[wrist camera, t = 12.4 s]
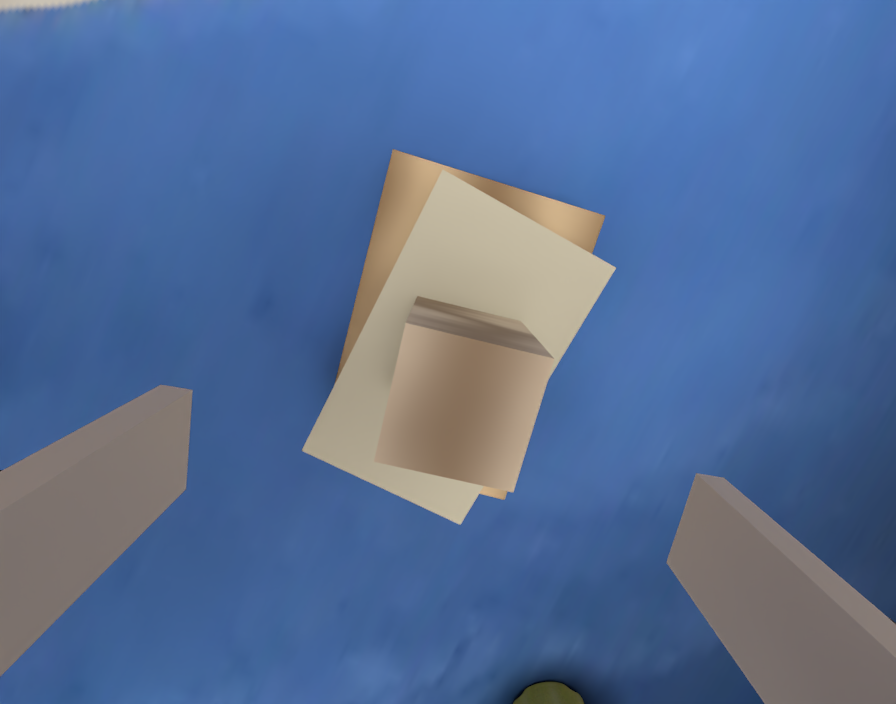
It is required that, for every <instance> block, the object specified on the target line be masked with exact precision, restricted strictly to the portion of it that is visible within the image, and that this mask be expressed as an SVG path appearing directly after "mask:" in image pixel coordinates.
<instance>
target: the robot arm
mask: <svg viewBox="0 0 896 704" xmlns="http://www.w3.org/2000/svg"><path fill="white" fill-rule="evenodd" d="M191 405H192V390H190V389H184V388H178V387H172V386H166V385H160V386H158V387H156V388H154V389H152V390H150V391H148V392H147V393H145V394H143V395H141V396H139V397H137V398H135V399H134V400H132V401H130V402H128V403H126V404H124V405H123V406H121V407H119V408H117V409H115V410H113V411H111V412H110V413H108V414H106V415H104V416H102V417H100V418H99V419H97V420H95V421H93V422H91V423H89V424H87V425H86V426H84V427H82V428H80V429H78V430H76V431H75V432H73V433H71V434H69V435H67V436H65V437H63V438H62V439H60V440H58V441H56V442H54V443H52V444H50V445H49V446H47V447H45V448H43V449H41V450H39V451H38V452H36V453H34V454H32V455H30V456H28V457H26V458H25V459H23V460H21V461H19V462H17V463H15V464H14V465H12V466H10V467H8V468H6V469H4V470H0V676H1V675H2V674H3V673H4V672H5V671H6V670H7V669H8V668H9V667H10V666H11V665H12V664H13V663H14V662H15V661H16V660H17V659H18V658H19V657H20V656H21V655H22V654H23V653H24V652H25V651H26V650H27V649H28V648H29V647H30V646H31V645H32V644H33V643H34V642H35V641H36V640H37V639H38V638H39V637H40V636H41V635H42V634H43V633H44V632H45V631H46V630H47V629H48V628H49V627H50V626H51V625H52V624H53V623H54V622H55V621H56V620H57V619H58V618H59V617H60V616H61V615H62V614H63V613H64V612H65V611H66V610H67V609H68V608H69V607H70V606H71V605H72V604H73V603H74V602H75V601H76V600H77V599H78V598H79V597H80V596H81V595H82V594H83V593H84V592H85V590H86V589H87V588H88V587H89V586H90V585H91V584H92V583H93V582H94V581H95V580H96V579H97V578H98V577H99V576H100V575H101V574H102V573H103V572H104V571H105V570H106V569H107V568H108V567H109V566H110V565H111V564H112V563H113V562H114V561H115V560H116V559H117V558H118V557H119V556H120V555H121V554H122V553H123V552H124V551H125V550H126V549H127V548H128V547H129V546H130V545H131V544H132V543H133V542H134V541H135V540H136V539H137V538H138V537H139V536H140V535H141V534H142V533H143V532H144V531H145V530H146V529H147V528H148V527H149V526H150V525H151V524H152V523H153V522H154V521H155V520H156V519H157V518H158V517H159V516H160V515H161V514H162V513H163V512H164V511H165V510H166V509H167V508H168V507H169V506H170V505H171V504H172V503H173V502H174V501H175V500H176V499H177V498H178V497H179V496H180V495H181V494H182V493H183V492H184V491H185V490H186V481H187V466H188V451H189V435H190V420H191ZM667 564H668V565H669V567H670V568H671V570H672V571H673V573H674V574H675V575H676V577H677V578H678V580H679V581H680V583H681V584H682V585H683V587H684V588H685V590H686V591H687V593H688V594H689V596H690V597H691V598H692V600H693V601H694V603H695V604H696V606H697V607H698V608H699V610H700V611H701V613H702V614H703V616H704V617H705V619H706V620H707V621H708V623H709V624H710V626H711V627H712V629H713V630H714V631H715V633H716V634H717V636H718V637H719V639H720V640H721V641H722V643H723V644H724V646H725V647H726V649H727V650H728V652H729V653H730V654H731V656H732V657H733V659H734V660H735V662H736V663H737V664H738V666H739V667H740V669H741V670H742V672H743V673H744V674H745V676H746V677H747V679H748V680H749V682H750V683H751V685H752V686H753V687H754V689H755V690H756V692H757V693H758V695H759V696H760V697H761V699H762V700H763V702H764V703H765V704H896V623H895V622H894V621H893V620H891V619H890V618H888V617H887V616H885V615H884V614H883V613H882V612H881V611H880V610H878V609H877V608H876V607H875V606H874V605H873V604H871V603H870V602H869V601H868V600H867V599H865V598H864V597H863V596H862V595H861V594H860V593H858V592H857V591H856V590H855V589H854V588H853V587H851V586H850V585H849V584H848V583H847V582H846V581H844V580H843V579H842V578H841V577H840V576H838V575H837V574H836V573H835V572H834V571H833V570H831V569H830V568H829V567H828V566H827V565H826V564H824V563H823V562H822V561H821V560H820V559H818V558H817V557H816V556H815V555H814V554H813V553H811V552H810V551H809V550H808V549H807V548H806V547H804V546H803V545H802V544H801V543H800V542H799V541H797V540H796V539H795V538H794V537H793V536H791V535H790V534H789V533H788V532H787V531H786V530H784V529H783V528H782V527H781V526H780V525H779V524H777V523H776V522H775V521H774V520H773V519H772V518H770V517H769V516H768V515H767V514H766V513H764V512H763V511H762V510H761V509H760V508H759V507H757V506H756V505H755V504H754V503H753V502H752V501H750V500H749V499H748V498H747V497H746V496H745V495H743V494H742V493H741V492H740V491H739V490H737V489H736V488H735V487H734V486H733V485H732V484H730V483H729V482H728V481H727V480H726V479H725V478H722V477H716V476H710V475H704V474H698V473H696V476H695V479H694V482H693V485H692V488H691V491H690V494H689V497H688V500H687V503H686V506H685V509H684V512H683V515H682V518H681V521H680V524H679V527H678V530H677V533H676V536H675V539H674V542H673V545H672V548H671V551H670V554H669V557H668V560H667Z"/></svg>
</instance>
